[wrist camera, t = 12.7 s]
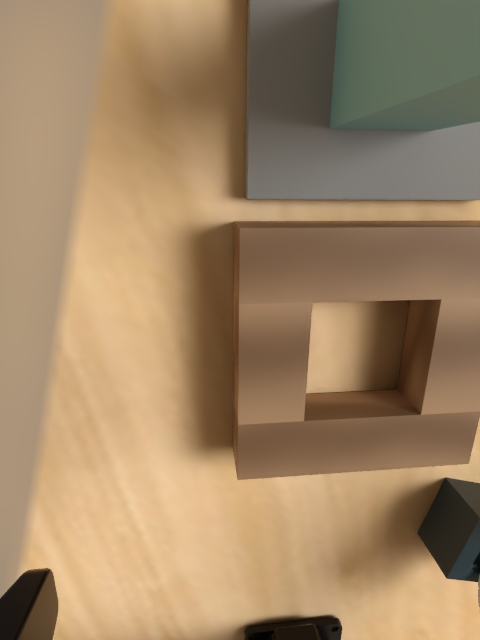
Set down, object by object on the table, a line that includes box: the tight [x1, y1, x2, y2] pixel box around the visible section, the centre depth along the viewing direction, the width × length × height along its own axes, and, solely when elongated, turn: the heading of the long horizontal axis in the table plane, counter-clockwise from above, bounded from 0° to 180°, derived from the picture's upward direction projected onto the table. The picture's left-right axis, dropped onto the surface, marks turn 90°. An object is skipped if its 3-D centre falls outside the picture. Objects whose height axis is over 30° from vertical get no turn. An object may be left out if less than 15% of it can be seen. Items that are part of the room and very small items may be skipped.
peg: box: [330, 0, 480, 131], centre depth 12 cm, size 4×4×10 cm
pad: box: [245, 0, 480, 200], centre depth 17 cm, size 10×11×1 cm
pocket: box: [233, 221, 480, 480], centre depth 20 cm, size 12×12×2 cm
